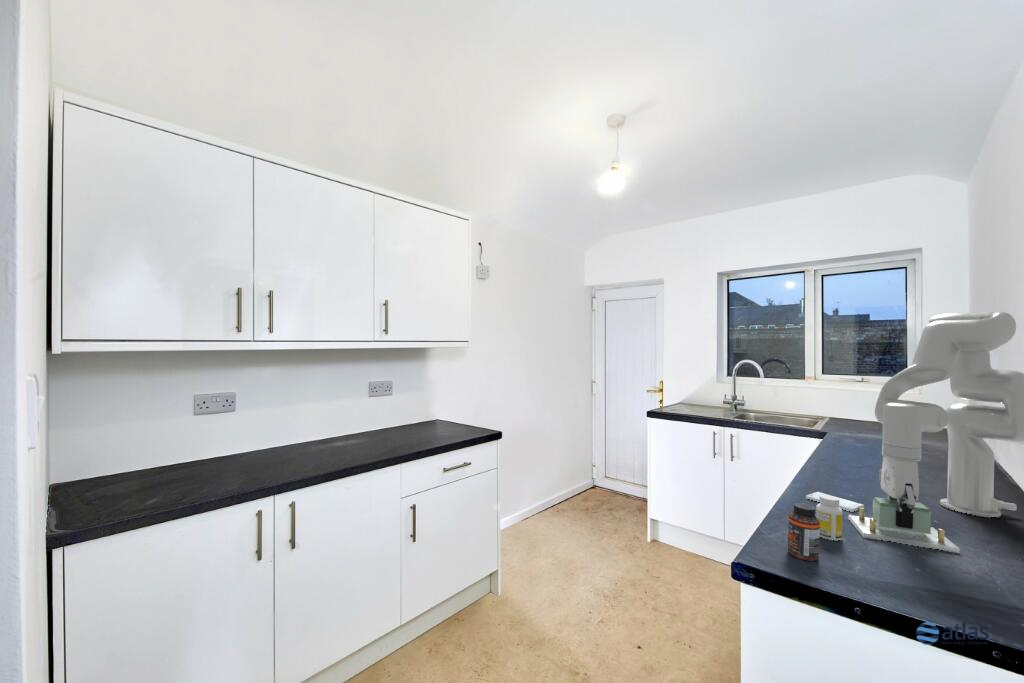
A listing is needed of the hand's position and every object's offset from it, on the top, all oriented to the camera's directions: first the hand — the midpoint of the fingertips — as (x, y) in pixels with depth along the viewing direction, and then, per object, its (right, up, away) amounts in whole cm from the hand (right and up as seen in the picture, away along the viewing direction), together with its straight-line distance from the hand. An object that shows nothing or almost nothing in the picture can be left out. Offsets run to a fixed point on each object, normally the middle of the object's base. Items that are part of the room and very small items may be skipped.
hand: (899, 522), depth 112 cm
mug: (+31, -4, +38) cm, 49 cm away
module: (0, -1, 0) cm, 1 cm away
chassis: (0, -3, 0) cm, 3 cm away
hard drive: (-1, -4, +22) cm, 22 cm away
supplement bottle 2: (-20, -3, -2) cm, 20 cm away
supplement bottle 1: (-33, -2, -13) cm, 36 cm away
